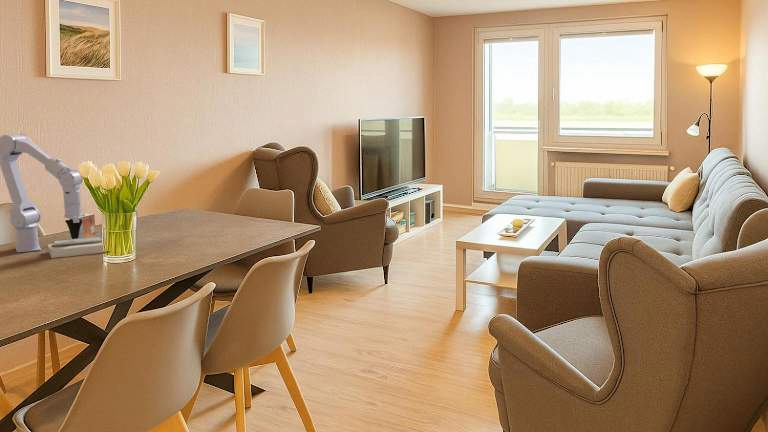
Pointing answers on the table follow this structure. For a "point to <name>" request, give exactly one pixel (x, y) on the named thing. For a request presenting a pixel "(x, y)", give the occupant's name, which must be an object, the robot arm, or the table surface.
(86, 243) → the yellow rounded bar
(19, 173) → the robot arm
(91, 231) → the small box
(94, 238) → the cover
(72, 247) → the white sliding drawer case
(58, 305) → the table surface
